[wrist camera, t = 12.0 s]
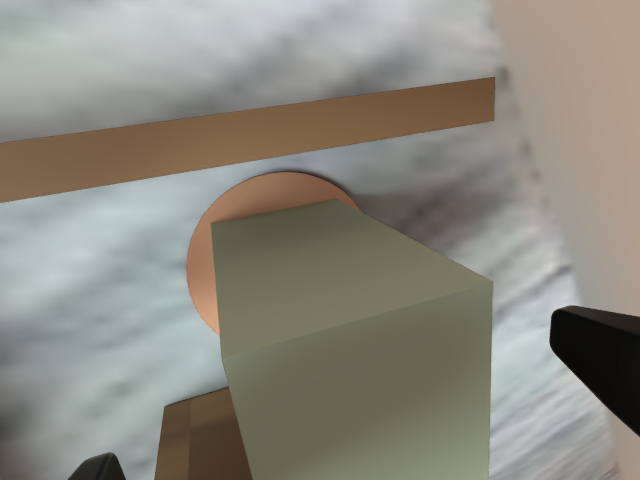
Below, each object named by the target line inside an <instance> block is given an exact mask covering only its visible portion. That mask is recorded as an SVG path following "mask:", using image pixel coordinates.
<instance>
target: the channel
mask: <svg viewBox="0 0 640 480" xmlns="http://www.w3.org/2000/svg"><path fill="white" fill-rule="evenodd" d="M494 101H495V77H491V78H483V79H476V80H468V81H461V82H453V83H446V84H439V85H431V86H424V87H416V88H409V89H401V90H394V91H386V92H379V93H371V94H364V95H356V96H349V97H341V98H334V99H327V100H319V101H312V102H304V103H297V104H289V105H282V106H274V107H267V108H259V109H252V110H244V111H237V112H230V113H222V114H215V115H207V116H200V117H192V118H185V119H177V120H170V121H162V122H155V123H147V124H140V125H132V126H125V127H118V128H110V129H103V130H95V131H88V132H80V133H73V134H65V135H58V136H50V137H43V138H35V139H28V140H20V141H13V142H6V143H0V203H3V202H9V201H15V200H21V199H27V198H33V197H39V196H45V195H51V194H57V193H63V192H69V191H75V190H81V189H87V188H93V187H99V186H105V185H111V184H117V183H123V182H129V181H135V180H141V179H147V178H153V177H159V176H165V175H171V174H177V173H183V172H189V171H195V170H201V169H207V168H213V167H219V166H225V165H231V164H237V163H243V162H249V161H255V160H261V159H267V158H273V157H279V156H285V155H291V154H297V153H303V152H309V151H315V150H321V149H327V148H333V147H339V146H345V145H351V144H357V143H363V142H369V141H376V140H382V139H388V138H394V137H400V136H406V135H412V134H418V133H424V132H430V131H436V130H442V129H448V128H454V127H460V126H466V125H472V124H478V123H484V122H490V121H494ZM336 198H337V199H339V200H340V201H342V202H344V203H346V204H348V205H350V206H352V207H354V208H355V209H357V210H359V211H361V210H360V209H359V207H358V206H357V205H356V204H355V202H354V201H353V200H352V199H351V198H350V197H349V196H348V195H347V194H346V193H344V192H343V191H342V190H341V189H339V188H338V187H336V186H335V185H333V184H331V183H329V182H327V181H325V180H323V179H320V178H318V177H315V176H311V175H308V174H303V173H297V172H275V173H268V174H264V175H260V176H256V177H253V178H251V179H248V180H245V181H243V182H241V183H239V184H238V185H236V186H234V187H232V188H231V189H229V190H228V191H227V192H225V193H224V194H223V195H221V196H220V197H219V198H218V199H217V200H216V201H215V202H214V203H213V204H212V205H211V206H210V207H209V209H208V210H207V211H206V212H205V214H204V215H203V216H202V218H201V220H200V221H199V223H198V225H197V227H196V229H195V231H194V234H193V236H192V238H191V242H190V246H189V250H188V256H187V266H186V271H187V283H188V288H189V292H190V295H191V298H192V301H193V304H194V305H195V307H196V309H197V311H198V313H199V314H200V316H201V317H202V318H203V320H204V321H205V322H206V324H207V325H208V326H209V327H210V328H211V329H212V330H213V331H214V332H216V333H217V334H218V335H220V332H219V320H218V308H217V296H216V283H215V271H214V259H213V246H212V234H211V223H215V222H220V221H225V220H231V219H236V218H241V217H246V216H251V215H256V214H261V213H266V212H271V211H276V210H281V209H286V208H291V207H296V206H301V205H306V204H311V203H316V202H321V201H326V200H331V199H336ZM154 480H253V478H252V474H251V471H250V467H249V463H248V459H247V455H246V451H245V447H244V443H243V440H242V436H241V432H240V428H239V424H238V420H237V416H236V412H235V409H234V405H233V401H232V397H231V393H230V389H229V387H228V388H225V389H221V390H218V391H215V392H212V393H208V394H205V395H202V396H198V397H195V398H192V399H189V400H185V401H182V402H179V403H175V404H172V405H169V406H165V407H164V413H163V421H162V428H161V435H160V442H159V450H158V457H157V464H156V472H155V479H154Z"/></svg>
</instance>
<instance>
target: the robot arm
mask: <svg viewBox="0 0 640 480" xmlns="http://www.w3.org/2000/svg"><path fill="white" fill-rule="evenodd" d="M549 343H550V346H551V349H552V350H553V352H554V353H555V354H556V355H557V357H558V358H559V359H560V360H561V361H562V362H563V363H564V364H565V365H566V366H567V367H568V368H569V369H570V370H571V371H572V372H573V373H574V374H575V375H576V376H577V377H578V378H579V379H580V380H581V381H582V382H583V383H584V384H585V385H586V386H587V387H588V388H589V390H590V391H591V392H592V393H593V394H594V395H595V396H596V397H597V398H598V399H599V400H600V401H601V402H602V403H603V404H604V405H605V406H606V407H607V408H608V409H609V410H610V411H611V412H612V413H613V414H615V415H616V416H617V417H618V418H619V419H620V420H621V421H622V422H623V423H624V424H626V425H627V426H628V427H629V428H630V429H631V430H632V431H633V432H635V433H636V434H637V435H638V436H639V437H640V317H637V316H632V315H626V314H620V313H614V312H608V311H603V310H596V309H591V308H585V307H580V306H573V305H572V306H566V307H563V308H560V309H557V310H555V311H554V312H553V314H552V316H551V327H550V340H549ZM68 480H126V478H125V476H124V474H123V471H122V469H121V466H120V464H119V461H118V459H117V457H116V455H115V454H114V453H111V452H108V453H105V454H102V455H99V456H95V457H92V458H89V459H87V460H85V461H84V462H83V463H82V464H81V465H80V466H79V467H78V468H77V469H76V471H75V472H74V473H73V474H72V475H71V476H70V478H69V479H68Z"/></svg>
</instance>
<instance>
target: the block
mask: <svg viewBox="0 0 640 480" xmlns="http://www.w3.org/2000/svg"><path fill="white" fill-rule="evenodd" d="M211 234H212V246H213V259H214V271H215V283H216V296H217V308H218V320H219V332H220V345H221V357H222V362H223V366H224V370H225V374H226V378H227V381H228V385H229V389H230V393H231V397H232V401H233V405H234V409H235V412H236V416H237V420H238V424H239V428H240V432H241V436H242V440H243V443H244V447H245V451H246V455H247V459H248V463H249V467H250V471H251V474H252V478H253V480H486V479H488V478H489V437H490V390H491V343H492V296H493V282H492V281H490V280H488V279H486V278H485V277H483V276H481V275H479V274H477V273H475V272H473V271H471V270H470V269H468V268H466V267H464V266H462V265H460V264H458V263H457V262H455V261H453V260H451V259H449V258H447V257H445V256H443V255H442V254H440V253H438V252H436V251H434V250H432V249H430V248H428V247H427V246H425V245H423V244H421V243H419V242H417V241H415V240H413V239H412V238H410V237H408V236H406V235H404V234H402V233H400V232H398V231H397V230H395V229H393V228H391V227H389V226H387V225H385V224H383V223H382V222H380V221H378V220H376V219H374V218H372V217H370V216H368V215H367V214H365V213H363V212H361V211H359V210H357V209H355V208H354V207H352V206H350V205H348V204H346V203H344V202H342V201H340V200H339V199H337V198H336V199H331V200H326V201H321V202H316V203H311V204H306V205H301V206H296V207H291V208H286V209H281V210H276V211H271V212H266V213H261V214H256V215H251V216H246V217H241V218H236V219H231V220H225V221H220V222H215V223H211Z"/></svg>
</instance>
